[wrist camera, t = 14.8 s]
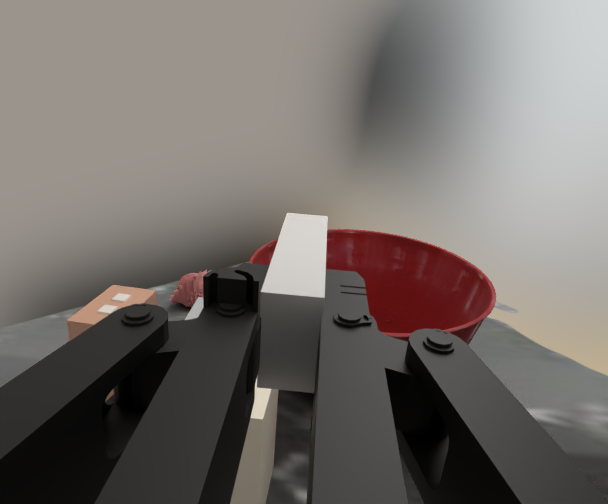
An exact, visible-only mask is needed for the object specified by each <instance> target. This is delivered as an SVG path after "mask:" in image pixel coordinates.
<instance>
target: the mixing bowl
mask: <svg viewBox="0 0 608 504" xmlns="http://www.w3.org/2000/svg"><path fill="white" fill-rule="evenodd" d="M277 242H278V239H276V240H273V241H271V242H269V243H267V244H266V245H264V246H262V247H261V248H259V249H258V250H257V251H256V252H255V253H254V255H253V256H252V258H251V259H250V262H249V263H251V264H262V265H270V263H271V260H272V257H273V254H274V251H275V248H276V245H277ZM326 269H331V270H343V271H354V272H357V273H358V274H359V275H360V276H361V277H362V278H363V279H364V281H365V289H366V296H367V301H368V307H369V314H370V315H371V316H373V317H374V319H375V321H376V322H377V327H378V330H379V331H380V332H382V333H384V334H386V335H388V336H390V337H393V338H396V339H400V340H403V341H407V342H408V339H409V337H410V334H411V333H413V332H414V331H416V330H420V329H426V328H427V329H440V330H444V331H447V332H449V333H451V334H453V335H455V336H457V337H459V338H460V339H461V340H463V341H464V342H465V343H466V344H467V345H468V344H469V343H470V341H471V340H472V338H473V336H474V335H475V333H476V331H477V330H478V328H479V327H480V325H481V323H482V322H483V320H484V318H486V317H487V316H488V315H489V314H490V313H491V311H492V309H493V308H494V305H495V302H496V293H495V289H494V287H493V285H492V283H491V281H490V280H489V279H488V278H487V276H486V275H485V274H484V273H483V272H482V271H480V270H479V269H478V268H477V267H475V266H474V265H473V264H471V263H470V262H468V261H466V260H465V259H463V258H461V257H459V256H457V255H456V254H454V253H451V252H449V251H446V250H444V249H442V248H440V247H437V246H434V245H431V244H428V243H425V242H422V241H419V240H415V239H411V238H407V237H403V236H398V235H393V234H388V233H381V232H374V231H365V230H350V229H337V230H336V229H335V230H334V229H332V230H327V248H326ZM312 394H313V395H314V393H312Z"/></svg>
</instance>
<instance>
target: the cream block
mask: <svg viewBox="0 0 608 504" xmlns="http://www.w3.org/2000/svg"><path fill="white" fill-rule="evenodd" d="M277 405H278V390H277V389H267V388H257V379H256V383H255V400H254V405H253V409H252V413H251V418H250V422H249V426H248V430H247V434H246V439H245V443H244V447H243V451H242V455H241V460H240V464H239V468H238V472H237V476H236V481H235V485H234V489H233V493H232V498H231V502H230V504H266V499H267V495H268V490H269V486H270V481H271V476H272V472H273V467H274V452H275V436H276V420H277Z"/></svg>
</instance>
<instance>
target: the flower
mask: <svg viewBox="0 0 608 504" xmlns="http://www.w3.org/2000/svg"><path fill="white" fill-rule="evenodd" d="M206 271H207V270H206ZM206 271H204V272H203V273H201V271H200V273H190V274H187V275H185V276H184V277H182V278H181V280H180V281H179V282H178V283H179V284H177V285H178V286H177V287H178V288H177V290H175V291H173V292H174V293H175V294H174V295H171V296H170V297H172V299H170V300H169V301H172V303H174V302H176V303H182V304H184V305H185V306H186V307H191V308H192V307H193V305H194V304H195V302H196V300H197V299H198V297H203V276H204V275H205V274H206V273H207V272H206ZM208 272H209V271H208Z"/></svg>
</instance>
